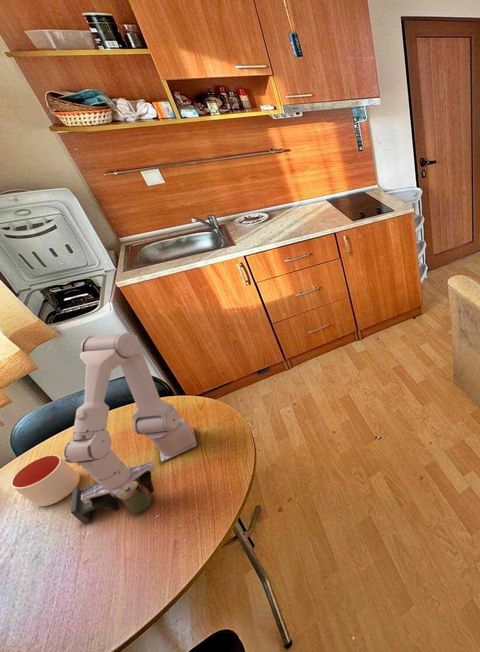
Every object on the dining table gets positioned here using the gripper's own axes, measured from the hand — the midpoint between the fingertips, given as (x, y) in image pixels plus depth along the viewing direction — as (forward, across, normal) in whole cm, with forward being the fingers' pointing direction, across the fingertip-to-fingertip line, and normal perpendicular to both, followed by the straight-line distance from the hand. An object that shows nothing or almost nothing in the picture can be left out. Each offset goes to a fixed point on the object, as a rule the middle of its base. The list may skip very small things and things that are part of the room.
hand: (135, 498), depth 102 cm
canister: (+3, 0, 0) cm, 3 cm away
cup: (+4, -19, +20) cm, 28 cm away
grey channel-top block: (+3, -6, +8) cm, 11 cm away
